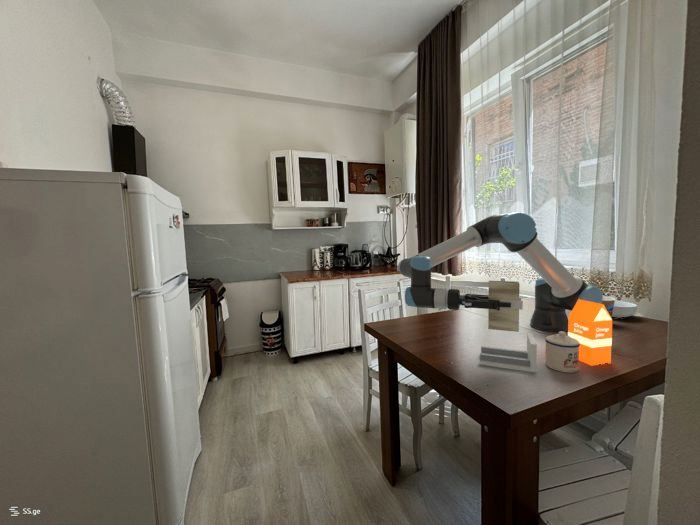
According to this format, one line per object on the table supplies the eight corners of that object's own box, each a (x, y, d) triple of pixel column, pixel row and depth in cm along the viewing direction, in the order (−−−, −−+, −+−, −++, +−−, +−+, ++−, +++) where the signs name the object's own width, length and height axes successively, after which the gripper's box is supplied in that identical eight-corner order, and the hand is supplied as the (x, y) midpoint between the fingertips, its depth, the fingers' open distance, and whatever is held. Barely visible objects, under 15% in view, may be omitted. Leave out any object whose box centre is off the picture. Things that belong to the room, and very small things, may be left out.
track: (480, 364, 98) (480, 338, 98) (481, 352, 108) (481, 328, 107) (536, 372, 91) (536, 344, 91) (531, 359, 101) (532, 333, 100)
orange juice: (591, 365, 95) (593, 305, 93) (566, 355, 103) (568, 299, 102) (611, 363, 96) (613, 303, 94) (585, 353, 105) (587, 298, 103)
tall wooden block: (488, 325, 103) (488, 280, 102) (517, 328, 99) (518, 281, 98) (488, 329, 99) (488, 282, 98) (518, 332, 95) (519, 283, 94)
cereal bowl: (646, 320, 138) (647, 306, 138) (610, 321, 139) (611, 307, 138) (615, 311, 155) (616, 298, 155) (583, 312, 156) (583, 299, 155)
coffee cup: (607, 327, 131) (608, 301, 130) (581, 321, 141) (582, 297, 140) (619, 323, 136) (620, 298, 135) (593, 318, 145) (594, 294, 144)
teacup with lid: (568, 376, 88) (569, 338, 87) (538, 364, 97) (539, 330, 96) (590, 367, 94) (591, 332, 93) (559, 357, 102) (560, 324, 101)
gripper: (450, 304, 114) (519, 308, 104) (444, 315, 99) (524, 321, 89) (450, 285, 114) (519, 287, 104) (444, 293, 98) (524, 297, 88)
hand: (521, 303), depth 96 cm, fingers closed on tall wooden block, 4 cm apart
